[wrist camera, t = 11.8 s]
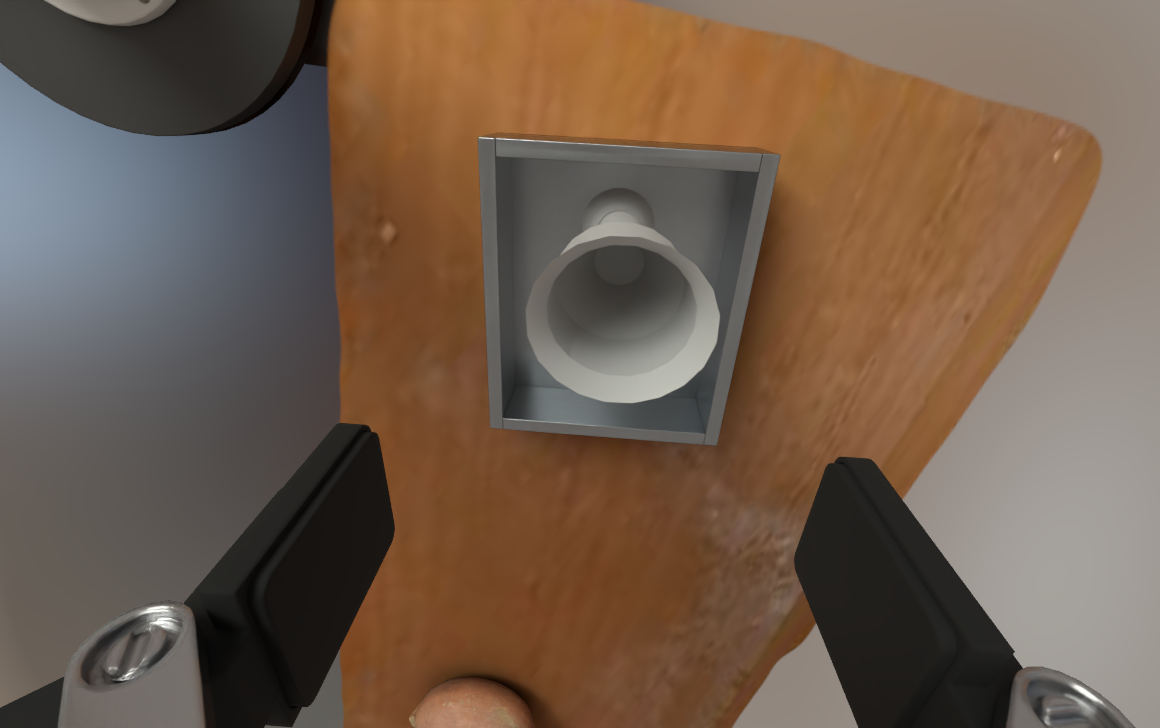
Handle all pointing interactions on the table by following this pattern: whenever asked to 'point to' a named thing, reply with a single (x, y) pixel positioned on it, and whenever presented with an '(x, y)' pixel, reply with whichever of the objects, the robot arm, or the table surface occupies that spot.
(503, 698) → the ceramic jug
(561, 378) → the chalice
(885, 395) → the table surface
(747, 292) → the grey rectangular tray
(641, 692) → the table surface
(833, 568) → the robot arm
